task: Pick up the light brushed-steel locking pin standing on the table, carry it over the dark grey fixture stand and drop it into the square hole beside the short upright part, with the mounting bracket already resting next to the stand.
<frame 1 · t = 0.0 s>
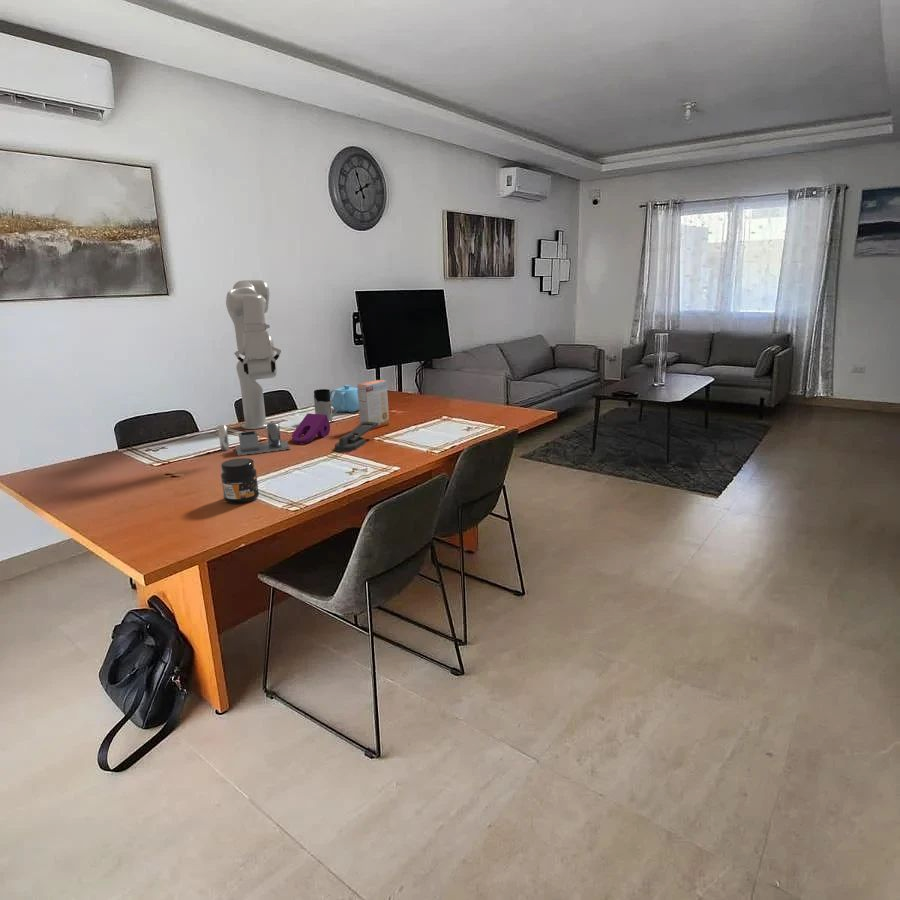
hand: (260, 372, 233), 31 cm above the table, tool pointing down, fingers open, 9 cm apart
black and grey mug: (329, 421, 289), on the table
locking pin: (225, 449, 242), on the table
grey fixture stand: (262, 449, 242), on the table
cracker box: (374, 427, 276), on the table
supplement container: (241, 499, 187), on the table
zipper pull: (357, 444, 248), on the table
decorative pot: (348, 411, 312), on the table
mounting bracket: (310, 439, 257), on the table
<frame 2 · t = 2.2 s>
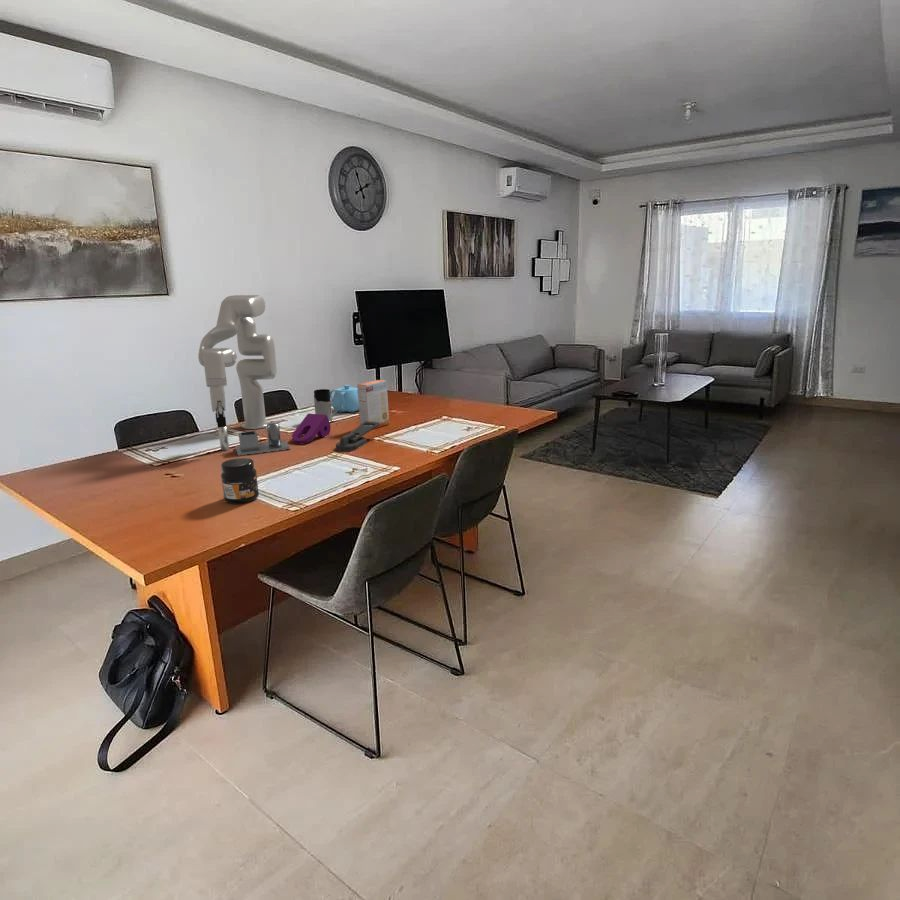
hand: (221, 424, 239), 11 cm above the table, tool pointing down, fingers open, 9 cm apart
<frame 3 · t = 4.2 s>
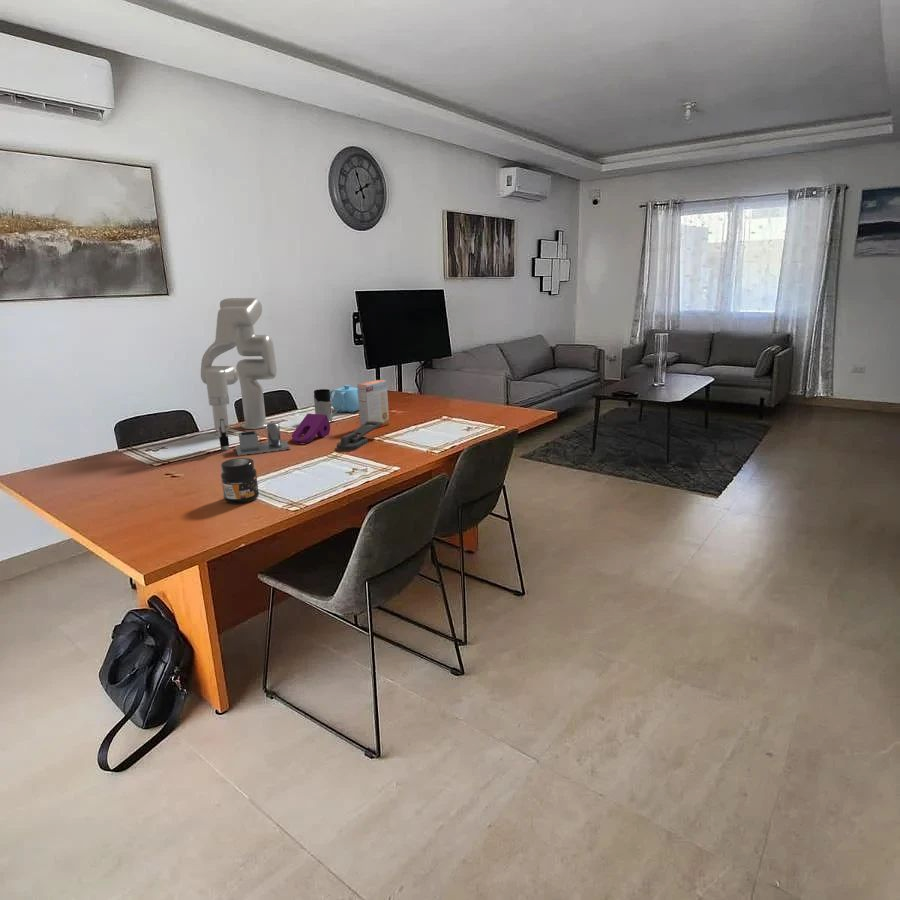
hand: (224, 444, 241), 2 cm above the table, tool pointing down, fingers closed on locking pin, 3 cm apart
locking pin: (225, 449, 242), on the table, touching gripper
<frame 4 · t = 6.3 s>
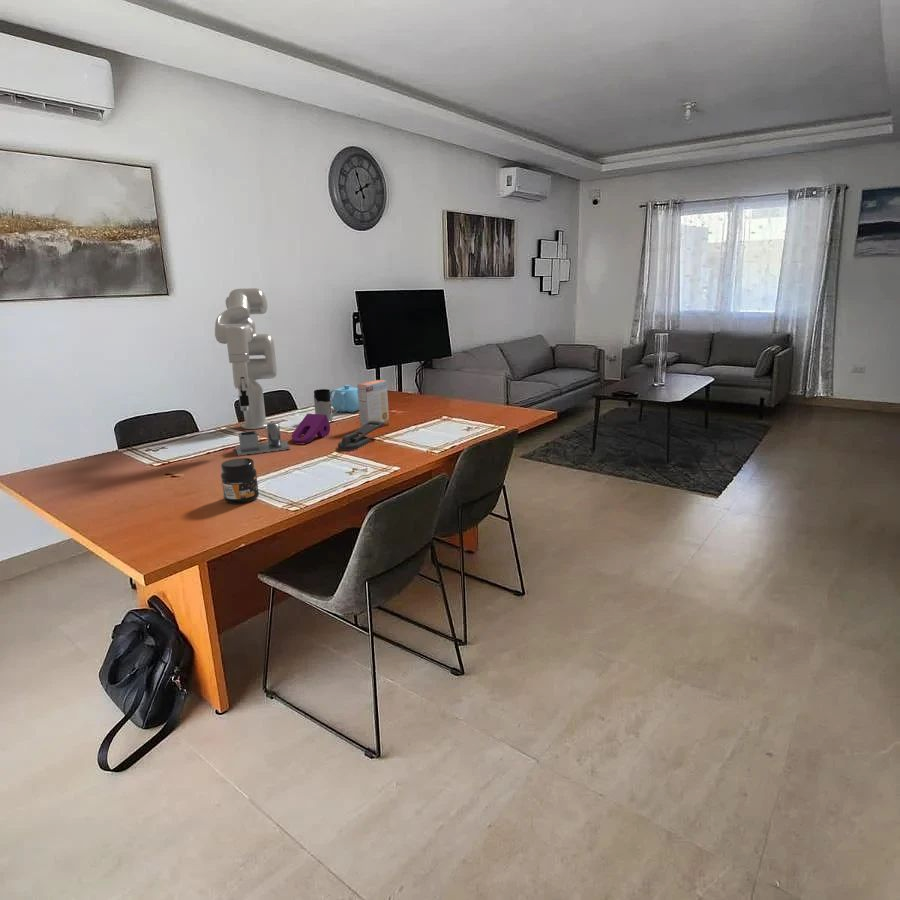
hand: (244, 404, 235), 19 cm above the table, tool pointing down, fingers closed on locking pin, 3 cm apart
locking pin: (244, 410, 236), point 17 cm above the table, touching gripper
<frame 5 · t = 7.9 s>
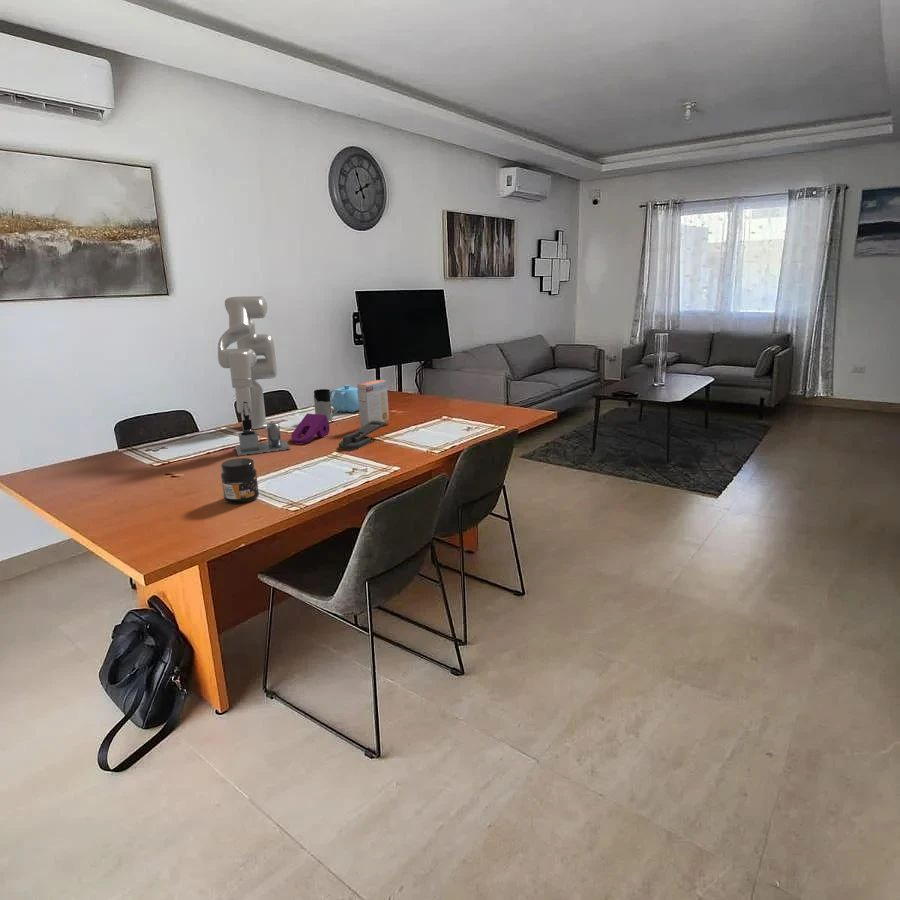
hand: (247, 428, 238), 9 cm above the table, tool pointing down, fingers closed on locking pin, 3 cm apart
locking pin: (247, 433, 238), point 7 cm above the table, touching gripper
when the fingers open (8 cm above the table, at t = 8.8 s): locking pin drops 5 cm, resting on grey fixture stand.
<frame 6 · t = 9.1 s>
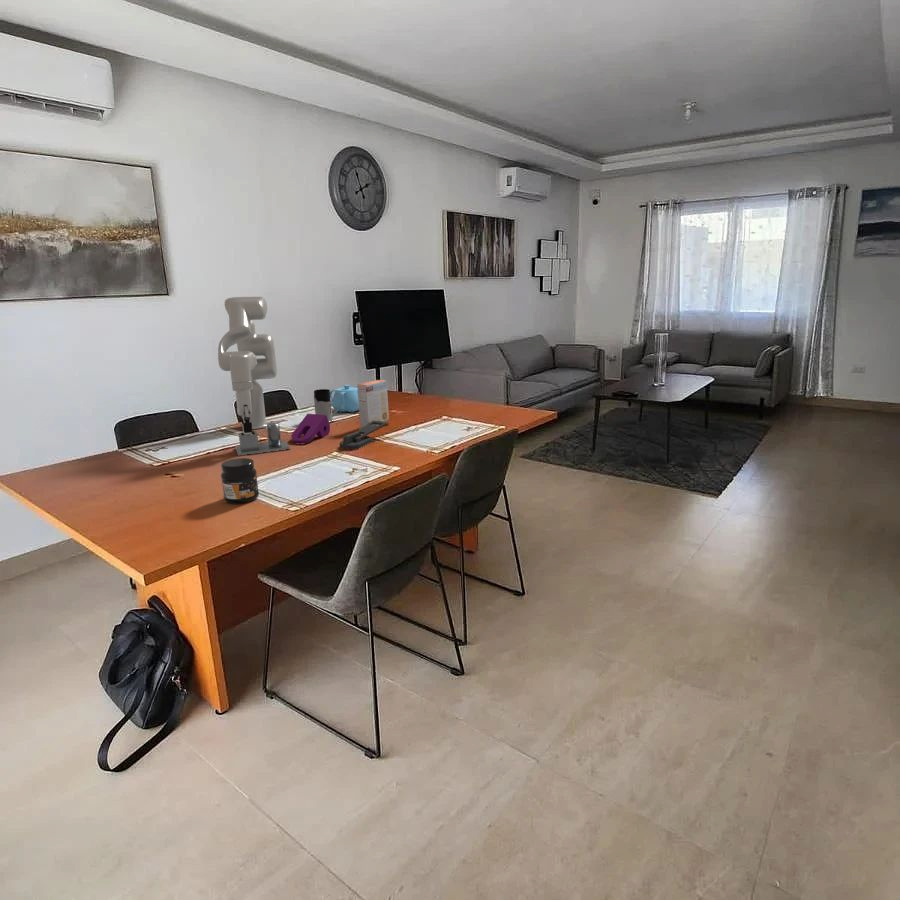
hand: (247, 430, 238), 9 cm above the table, tool pointing down, fingers open, 5 cm apart
locking pin: (249, 447, 240), point 1 cm above the table, touching grey fixture stand
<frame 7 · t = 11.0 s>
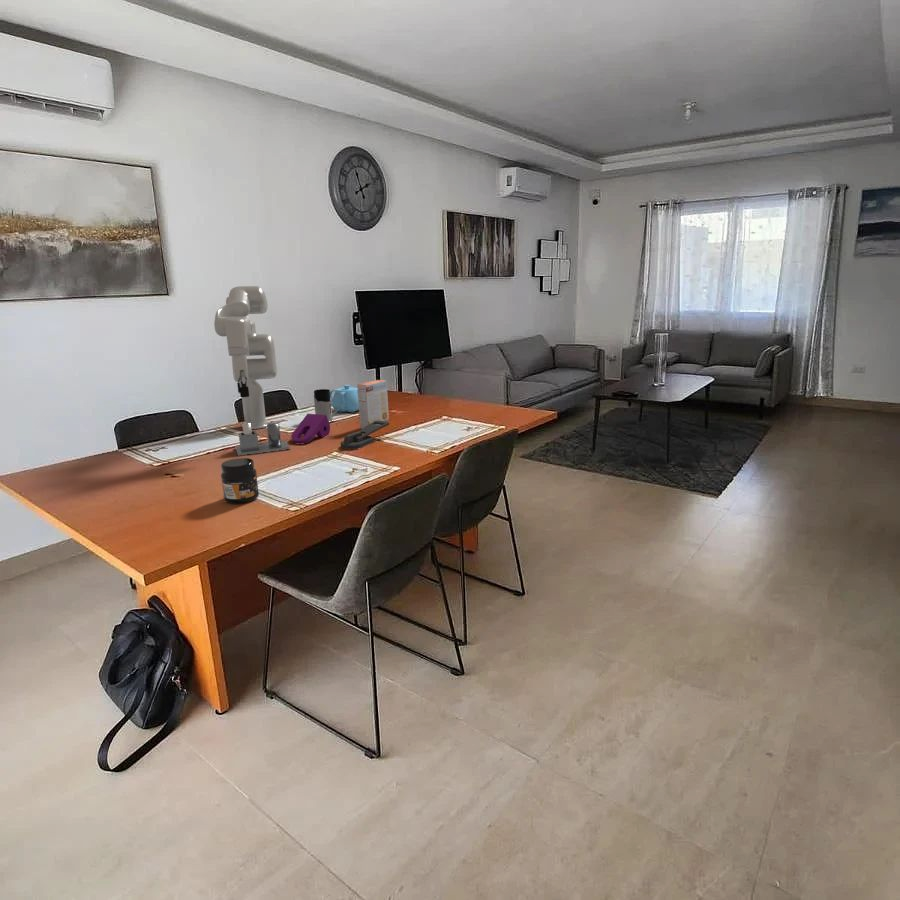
hand: (243, 394, 235), 23 cm above the table, tool pointing down, fingers open, 9 cm apart
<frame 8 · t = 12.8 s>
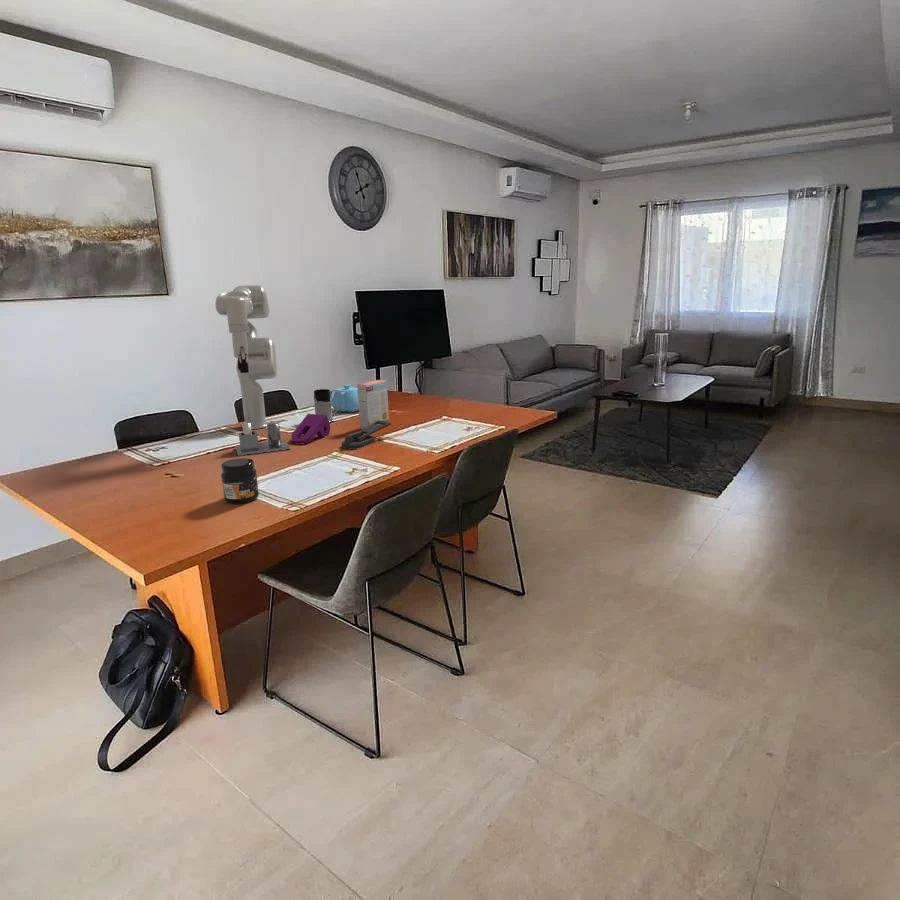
hand: (243, 371, 244), 30 cm above the table, tool pointing down, fingers open, 9 cm apart
at the end: locking pin 0.5 cm from the target spot on the grey fixture stand, point 1.2 cm above the grey fixture stand's base; locking pin tilted 0°; the gripper is holding nothing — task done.
